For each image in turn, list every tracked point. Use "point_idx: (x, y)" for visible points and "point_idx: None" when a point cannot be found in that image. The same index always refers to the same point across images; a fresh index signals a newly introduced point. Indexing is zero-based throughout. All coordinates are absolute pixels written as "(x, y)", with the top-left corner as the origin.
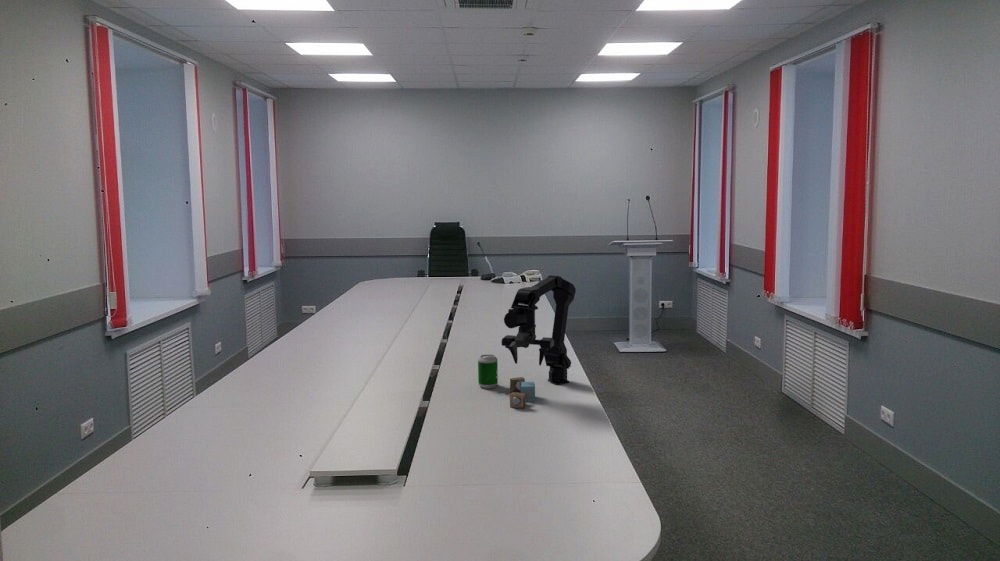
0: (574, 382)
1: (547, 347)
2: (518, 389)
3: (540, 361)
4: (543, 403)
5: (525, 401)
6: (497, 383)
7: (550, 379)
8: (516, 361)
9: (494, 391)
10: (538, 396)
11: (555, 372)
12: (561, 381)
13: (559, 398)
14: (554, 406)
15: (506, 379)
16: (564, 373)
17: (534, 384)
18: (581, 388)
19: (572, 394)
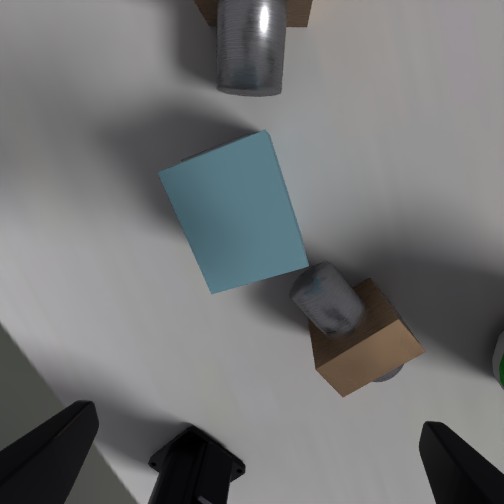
0: (133, 462)
1: None
2: (330, 264)
3: (16, 445)
4: (133, 140)
5: (198, 6)
6: (495, 361)
7: (219, 458)
8: (441, 458)
9: (489, 268)
10: None
11: (182, 497)
12: (172, 451)
13: (94, 252)
14: (53, 106)
15: None
16: (149, 500)
17: (184, 229)
18: None
19: (68, 324)
